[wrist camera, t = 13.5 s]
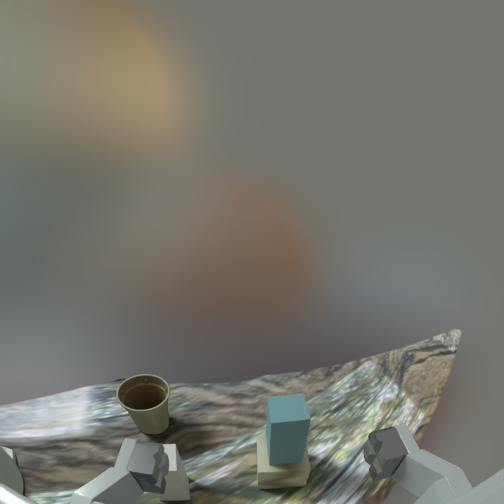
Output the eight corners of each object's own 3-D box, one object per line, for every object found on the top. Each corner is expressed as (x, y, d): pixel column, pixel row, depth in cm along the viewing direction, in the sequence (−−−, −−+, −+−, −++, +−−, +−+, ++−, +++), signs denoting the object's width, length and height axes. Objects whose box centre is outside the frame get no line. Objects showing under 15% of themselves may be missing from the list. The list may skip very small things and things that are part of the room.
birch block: (257, 489, 31) (258, 472, 29) (256, 455, 38) (256, 435, 36) (305, 486, 31) (310, 468, 30) (300, 452, 38) (304, 432, 36)
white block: (160, 500, 28) (140, 470, 25) (159, 477, 32) (142, 444, 29) (190, 500, 29) (176, 470, 26) (188, 477, 33) (175, 443, 30)
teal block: (269, 465, 31) (271, 423, 28) (266, 441, 35) (267, 396, 32) (302, 461, 31) (310, 418, 28) (296, 438, 35) (303, 393, 32)
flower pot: (186, 413, 47) (178, 380, 44) (166, 448, 38) (154, 417, 36) (143, 401, 49) (133, 369, 46) (120, 432, 40) (106, 400, 38)
